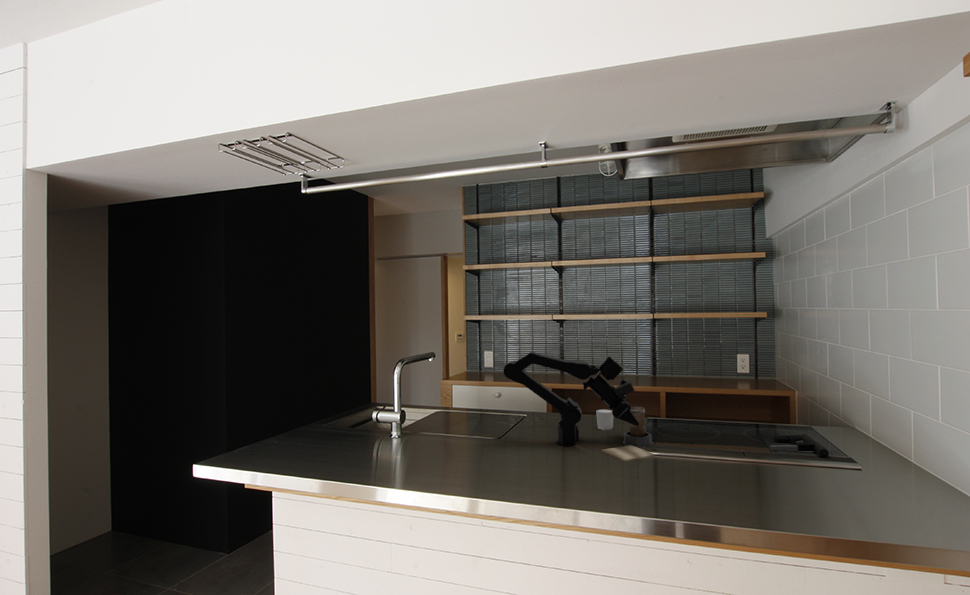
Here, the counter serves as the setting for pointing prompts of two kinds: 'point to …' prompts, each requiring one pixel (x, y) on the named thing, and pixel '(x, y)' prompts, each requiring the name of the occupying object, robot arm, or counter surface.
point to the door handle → (799, 444)
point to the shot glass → (604, 419)
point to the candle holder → (638, 440)
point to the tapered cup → (640, 417)
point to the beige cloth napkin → (628, 453)
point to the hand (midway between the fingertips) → (637, 421)
